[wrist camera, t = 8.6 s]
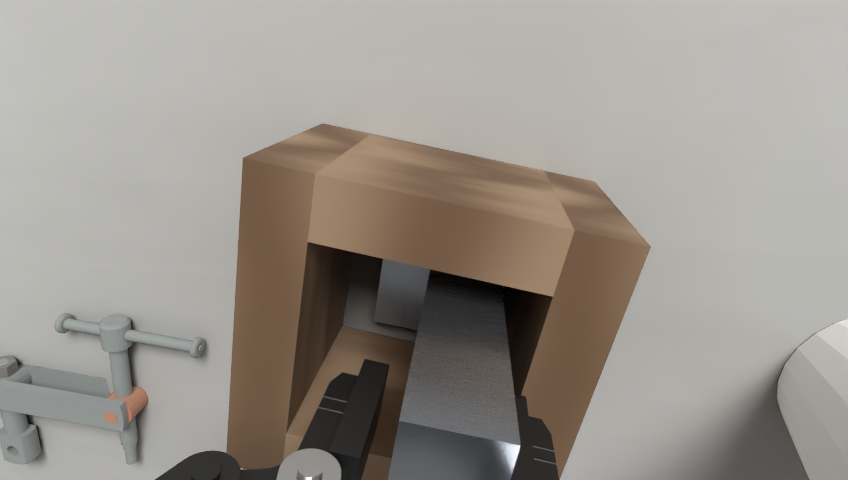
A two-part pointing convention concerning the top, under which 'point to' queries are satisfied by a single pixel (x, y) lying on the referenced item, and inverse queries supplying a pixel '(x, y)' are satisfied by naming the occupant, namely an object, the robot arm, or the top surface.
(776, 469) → the top surface
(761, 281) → the top surface
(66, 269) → the top surface
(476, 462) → the grey upright bar
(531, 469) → the robot arm
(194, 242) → the top surface
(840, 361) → the cup
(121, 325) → the clamp
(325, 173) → the well block
